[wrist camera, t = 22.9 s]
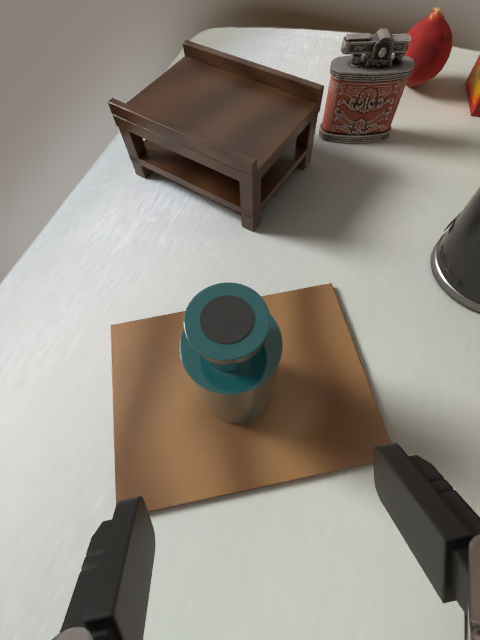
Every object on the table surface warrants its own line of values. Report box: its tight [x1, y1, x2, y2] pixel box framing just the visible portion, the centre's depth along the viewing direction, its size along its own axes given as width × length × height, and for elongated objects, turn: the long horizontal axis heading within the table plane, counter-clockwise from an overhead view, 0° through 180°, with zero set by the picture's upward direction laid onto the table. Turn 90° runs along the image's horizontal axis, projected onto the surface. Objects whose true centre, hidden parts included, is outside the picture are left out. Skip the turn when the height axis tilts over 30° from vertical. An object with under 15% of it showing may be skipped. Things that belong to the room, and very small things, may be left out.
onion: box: [404, 7, 452, 87], centre depth 41 cm, size 6×6×8 cm
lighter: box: [319, 28, 415, 143], centre depth 36 cm, size 8×3×10 cm, turn 88°
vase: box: [179, 283, 283, 424], centre depth 22 cm, size 6×6×12 cm
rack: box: [108, 40, 324, 231], centre depth 35 cm, size 16×12×8 cm
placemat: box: [111, 283, 391, 512], centre depth 28 cm, size 20×15×1 cm
